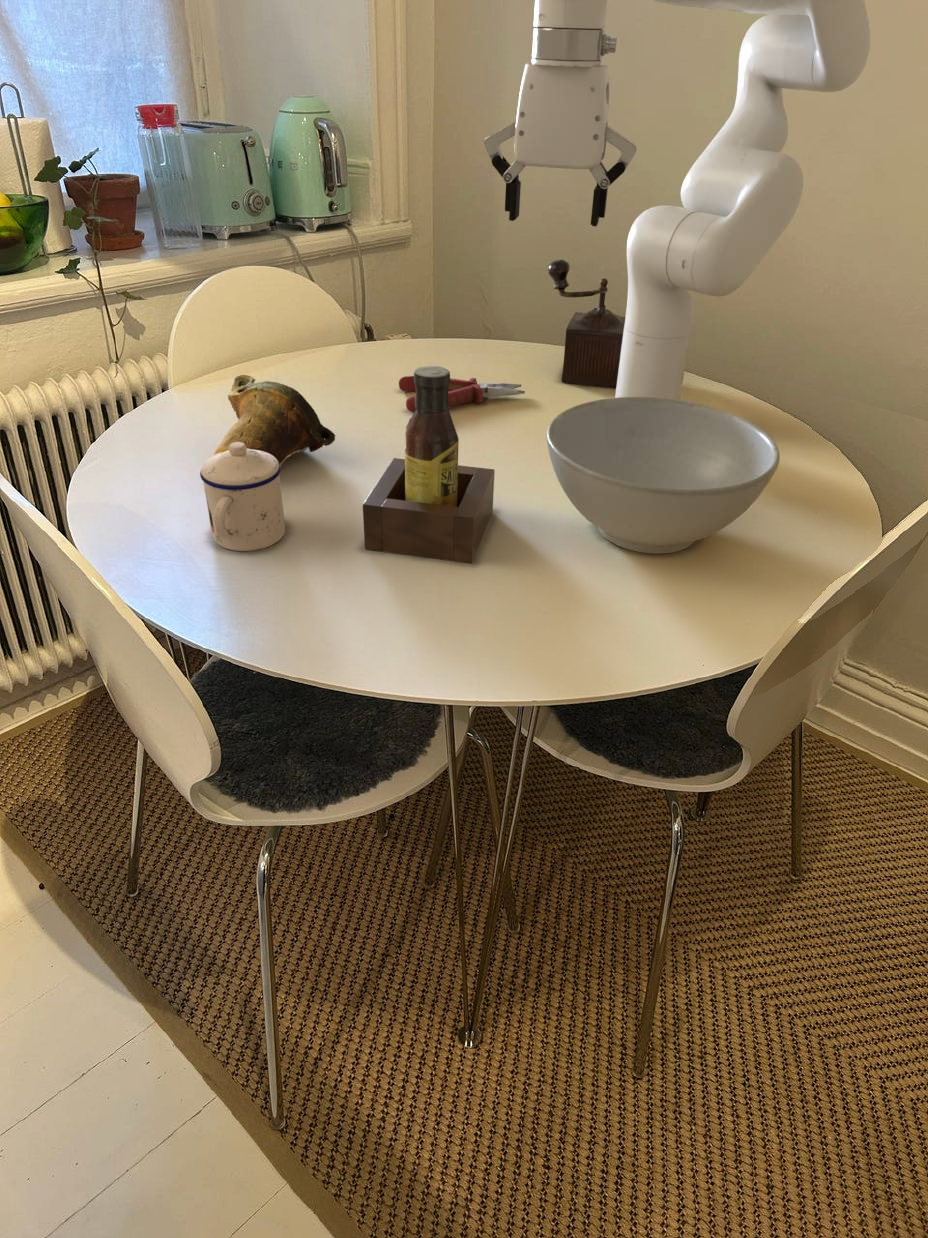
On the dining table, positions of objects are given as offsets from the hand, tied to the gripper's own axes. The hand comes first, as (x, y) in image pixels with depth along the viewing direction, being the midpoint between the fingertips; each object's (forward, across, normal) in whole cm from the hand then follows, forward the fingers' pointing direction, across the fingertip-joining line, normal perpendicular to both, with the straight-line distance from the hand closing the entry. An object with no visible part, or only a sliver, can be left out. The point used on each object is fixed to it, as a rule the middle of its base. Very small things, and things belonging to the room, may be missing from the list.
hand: (554, 221), depth 103 cm
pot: (+32, +37, +6) cm, 50 cm away
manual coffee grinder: (+32, -2, -41) cm, 52 cm away
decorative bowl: (+32, -16, +13) cm, 38 cm away
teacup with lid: (+32, +31, +28) cm, 53 cm away
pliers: (+32, +16, -22) cm, 42 cm away
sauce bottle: (+32, +10, +20) cm, 39 cm away
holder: (+32, +10, +20) cm, 39 cm away
